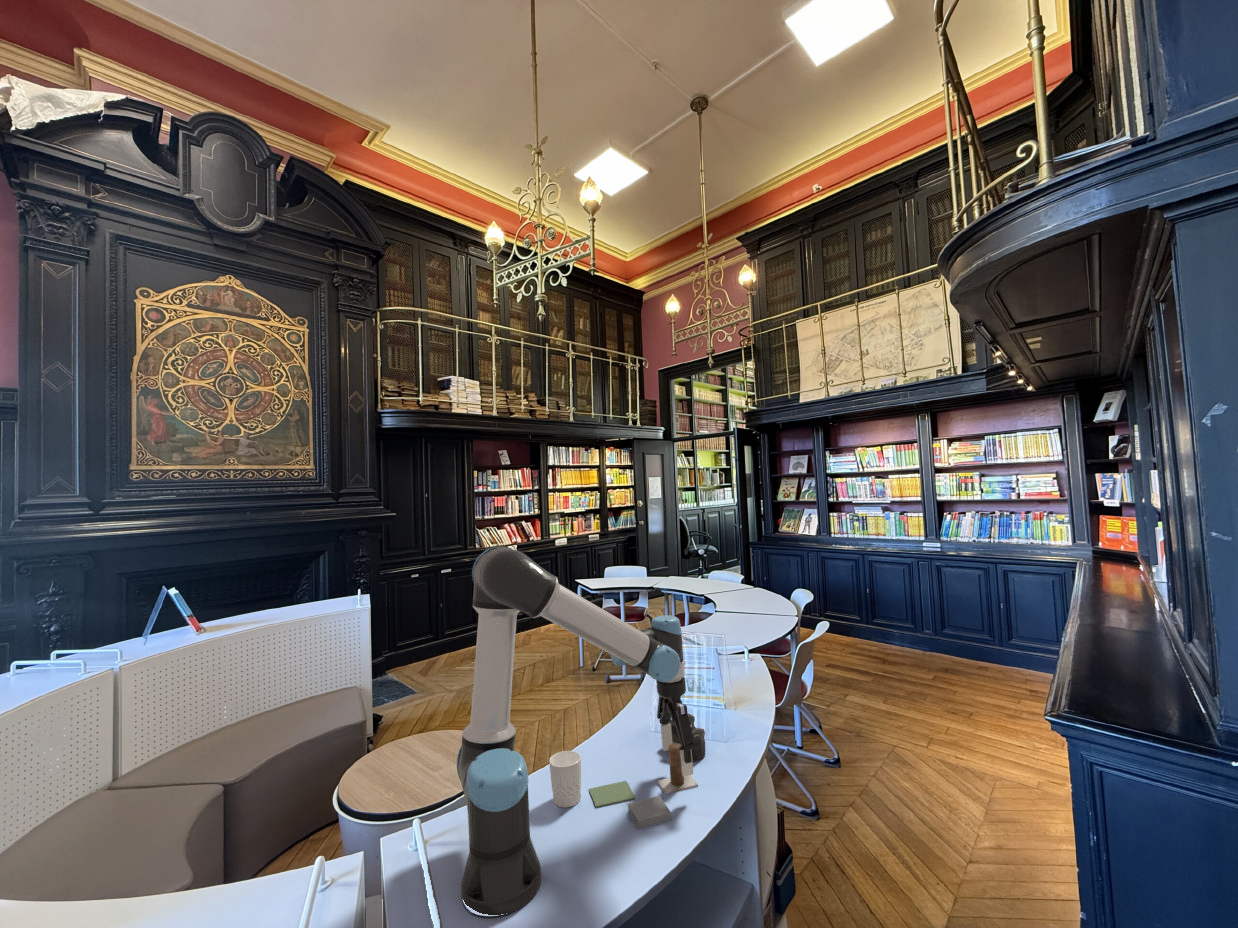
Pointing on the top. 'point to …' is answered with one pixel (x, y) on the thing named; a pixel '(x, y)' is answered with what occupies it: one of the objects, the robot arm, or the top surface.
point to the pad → (611, 794)
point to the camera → (697, 736)
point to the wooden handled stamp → (676, 773)
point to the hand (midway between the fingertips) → (677, 761)
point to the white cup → (566, 778)
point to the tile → (649, 812)
